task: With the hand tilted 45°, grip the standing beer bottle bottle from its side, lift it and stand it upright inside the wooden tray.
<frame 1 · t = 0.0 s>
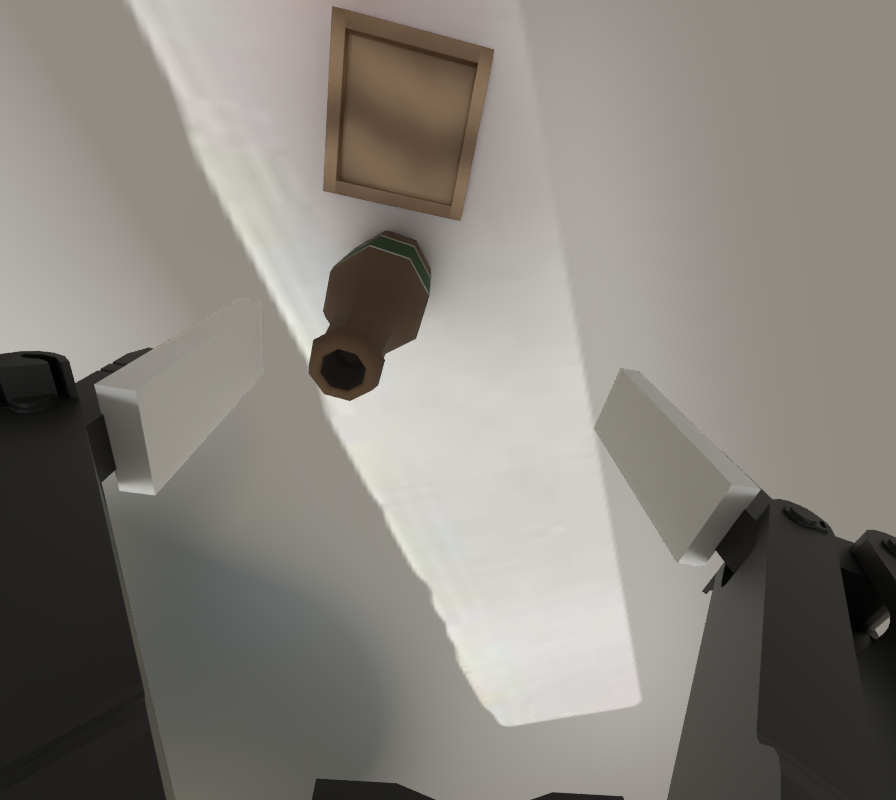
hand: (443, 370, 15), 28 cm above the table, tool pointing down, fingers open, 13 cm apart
wooden tray: (405, 128, 35), on the table
beer bottle: (392, 270, 40), on the table
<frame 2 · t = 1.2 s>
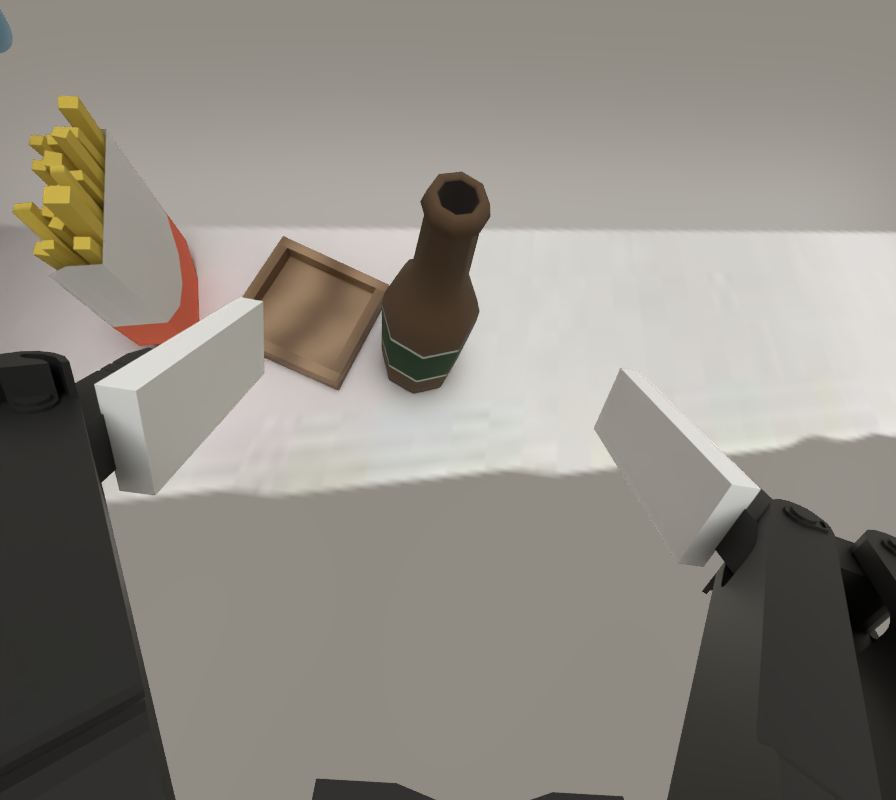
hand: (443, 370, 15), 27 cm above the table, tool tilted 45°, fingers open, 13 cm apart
wooden tray: (312, 317, 43), on the table
french fries container: (175, 304, 41), on the table
beer bottle: (417, 361, 44), on the table
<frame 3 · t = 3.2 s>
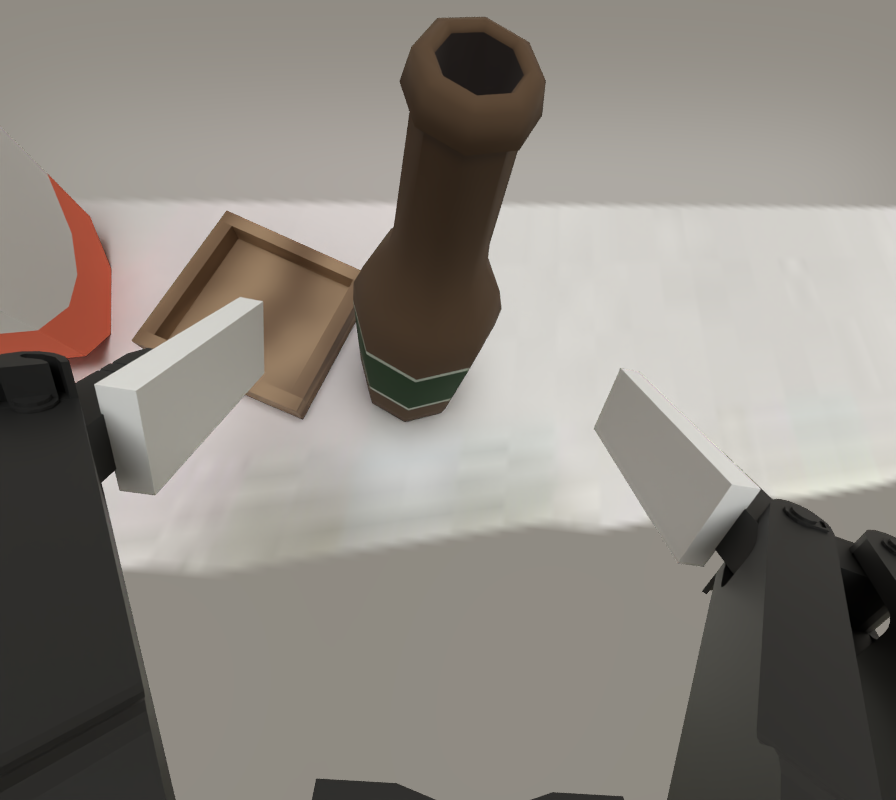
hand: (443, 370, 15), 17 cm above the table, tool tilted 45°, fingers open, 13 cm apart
wooden tray: (268, 321, 32), on the table
french fries container: (78, 305, 30), on the table
beer bottle: (411, 377, 33), on the table
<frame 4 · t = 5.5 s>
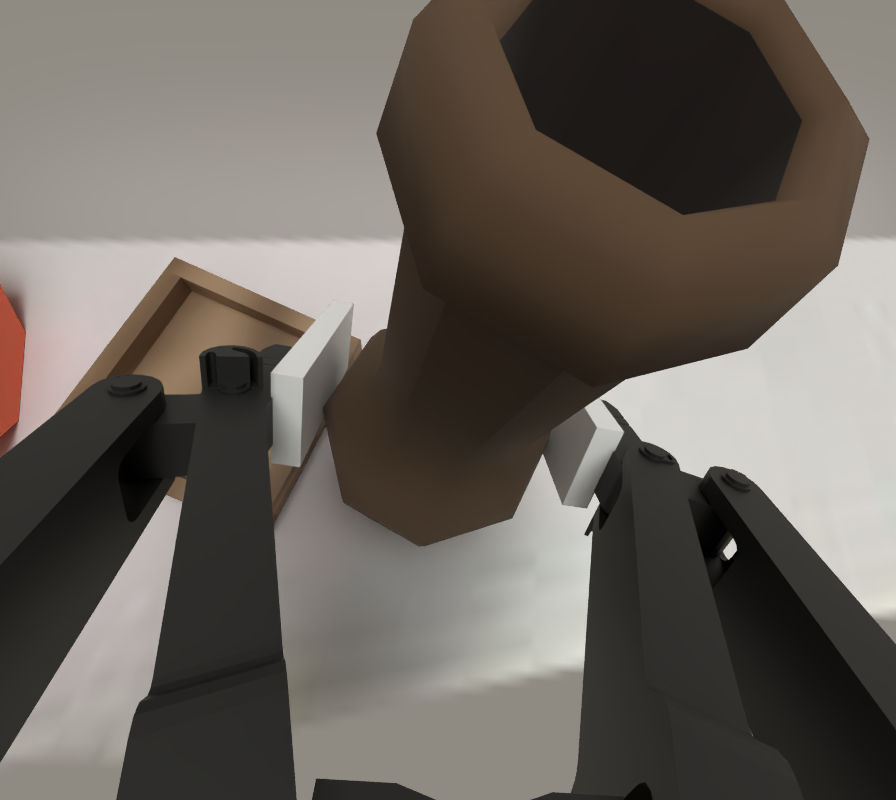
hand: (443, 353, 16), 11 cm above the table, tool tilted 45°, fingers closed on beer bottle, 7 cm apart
wooden tray: (229, 397, 25), on the table
beer bottle: (411, 468, 26), on the table, touching gripper
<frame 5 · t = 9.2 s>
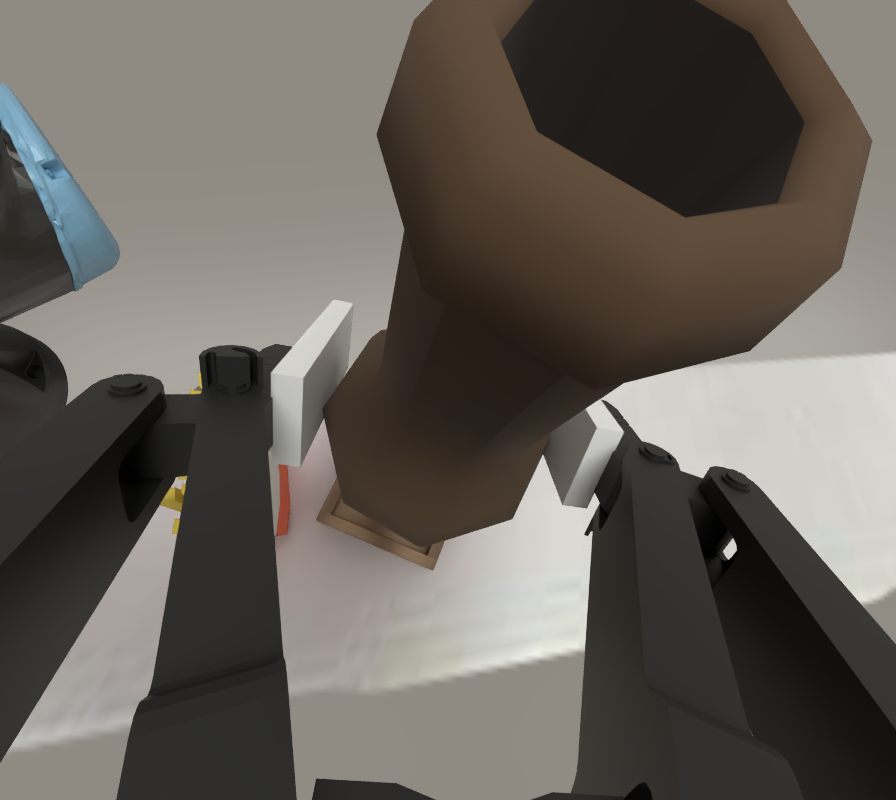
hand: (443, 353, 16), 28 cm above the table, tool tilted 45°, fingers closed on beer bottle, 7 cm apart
wooden tray: (400, 487, 42), on the table
french fries container: (265, 481, 41), on the table
beer bottle: (411, 468, 26), point 18 cm above the table, touching gripper
when the fingers open (13 cm above the table, at t = 13.0 s): beer bottle drops 1 cm, resting on wooden tray.
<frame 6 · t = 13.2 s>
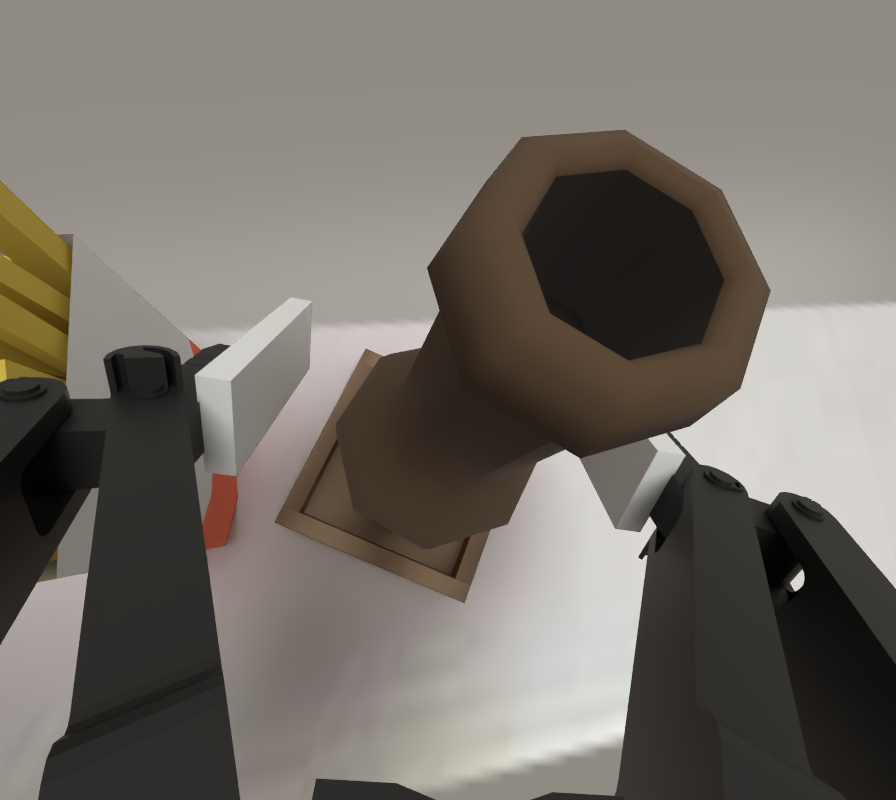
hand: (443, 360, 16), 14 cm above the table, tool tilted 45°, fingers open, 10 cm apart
wooden tray: (409, 471, 28), on the table
french fries container: (199, 461, 26), on the table
beer bottle: (409, 471, 27), point 1 cm above the table, touching wooden tray
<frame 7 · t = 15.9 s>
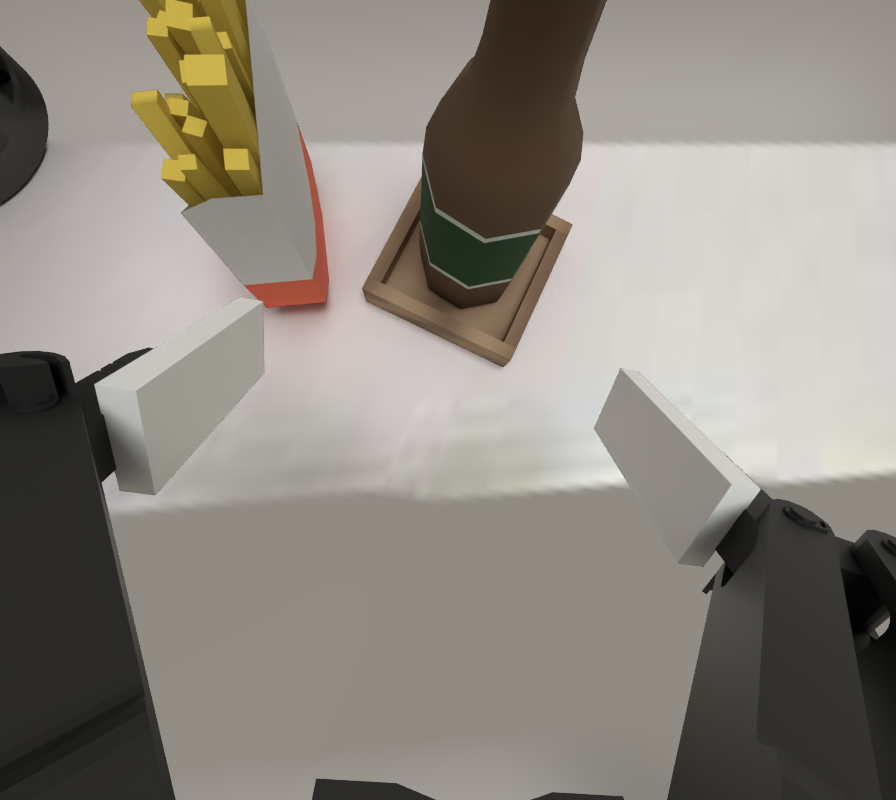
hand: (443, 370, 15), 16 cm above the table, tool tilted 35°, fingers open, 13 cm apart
wooden tray: (466, 269, 33), on the table
french fries container: (297, 250, 32), on the table
beer bottle: (467, 266, 32), point 1 cm above the table, touching wooden tray
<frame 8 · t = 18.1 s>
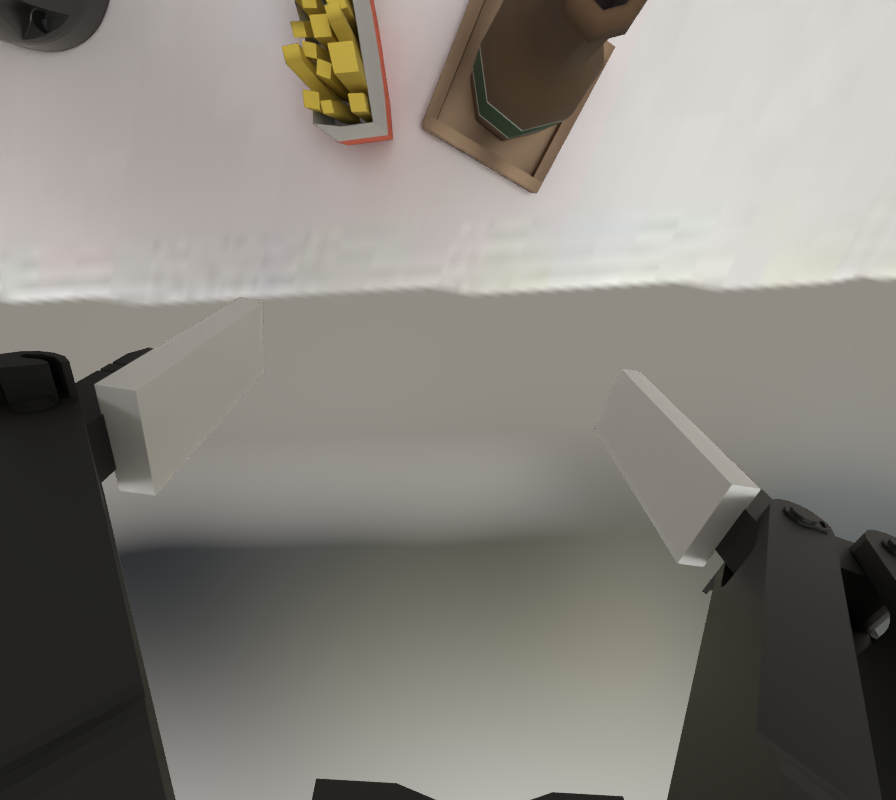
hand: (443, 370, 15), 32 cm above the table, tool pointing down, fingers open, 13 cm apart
wooden tray: (510, 92, 37), on the table
french fries container: (360, 72, 36), on the table
beer bottle: (511, 91, 36), point 1 cm above the table, touching wooden tray
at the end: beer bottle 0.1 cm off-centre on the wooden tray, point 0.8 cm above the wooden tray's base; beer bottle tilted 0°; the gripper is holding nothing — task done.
